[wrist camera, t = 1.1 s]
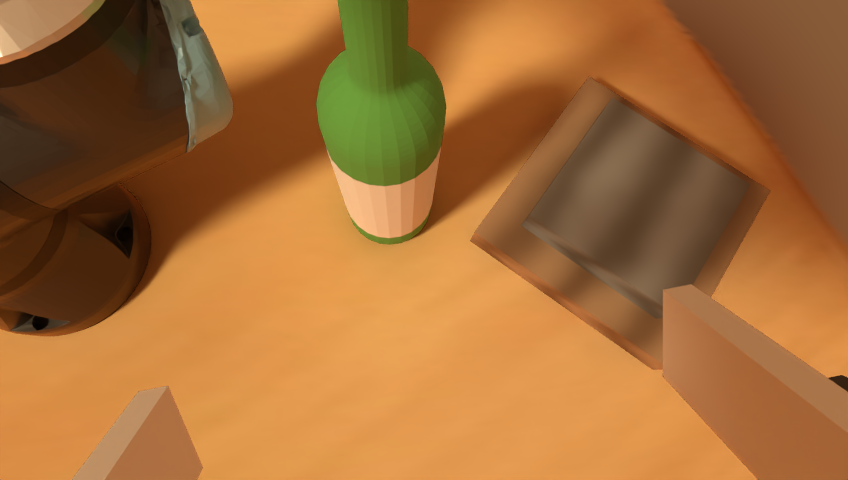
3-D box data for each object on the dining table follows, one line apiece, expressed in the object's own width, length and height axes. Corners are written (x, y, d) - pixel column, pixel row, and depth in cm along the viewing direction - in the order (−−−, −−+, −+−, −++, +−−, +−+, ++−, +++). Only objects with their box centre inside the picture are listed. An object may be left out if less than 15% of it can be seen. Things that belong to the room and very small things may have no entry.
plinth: (470, 240, 45) (479, 221, 40) (578, 93, 50) (601, 57, 44) (652, 369, 43) (691, 369, 37) (748, 201, 48) (795, 178, 42)
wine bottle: (447, 207, 46) (520, -66, 17) (391, 264, 45) (368, 67, 16) (389, 156, 47) (366, -180, 18) (332, 210, 46) (210, -68, 17)
